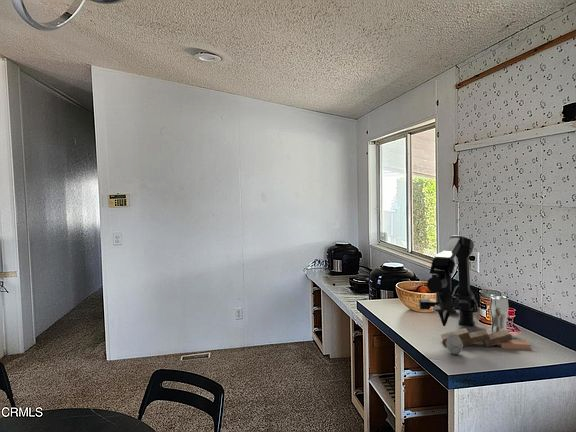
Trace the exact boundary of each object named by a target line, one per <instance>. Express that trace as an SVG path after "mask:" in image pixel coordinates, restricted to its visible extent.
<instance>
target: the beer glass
mask: <svg viewBox="0 0 576 432" xmlns="http://www.w3.org/2000/svg"><path fill="white" fill-rule="evenodd" d="M489 312H490V318H491V329H490V332H491V334H492V333H495V332H499V331H502V330H506V331H508V330H507V320H508V316H509V298H508V297H506V296H503V295H490V299H489Z"/></svg>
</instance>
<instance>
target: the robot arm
mask: <svg viewBox="0 0 576 432" xmlns="http://www.w3.org/2000/svg"><path fill="white" fill-rule="evenodd" d="M474 247H475V243H474V240H473V239H471V238H468V237H465V236H464V235H460V234H459V235H455V234H453V235H450V237H449V240H448V242H447V244H446V245H445V247H444V249H443V251H441V252H438V253H437V254H436V255H435V256H434V258H432V262H431V265H430V270H429V274H430V275H431V277H430V278H428V280H427V282H426V287H427V289H428V290H429V291H430V292H432V293H435V301H431V300H430V299H428V298H420V299H419V300H418V307H419V309H420V310H429V309H431V308H433V311H434V312H437V313H438V316H439V318H440V322H441V324H442V326H443V327H446V325H447V323H448V320H449V318H450V315H451V313H456V312H455V311H459V320H458V325H462V326H470V327H475V320H474V314H475V313H478V312H479V305H478V302H477V300H476V298H475V294H474V292H473V291H472V288H471V277H470V276H471V275H470V256H471V255H472V253H473V252H474V251H473V250H474ZM455 257H456V259H457V273H458V274H457V275H458V276H457V277H458V285H459V286H458V290H457V292H456V293H455V294H454V296H455V298H453V297H452V295H453V291H452V274H453V273H454V272H455V271H454V270H455V267H456V262H455ZM454 307H455V310H454ZM443 311H444V312H443Z"/></svg>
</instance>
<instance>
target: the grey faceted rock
mask: <svg viewBox="0 0 576 432" xmlns="http://www.w3.org/2000/svg"><path fill="white" fill-rule="evenodd" d="M445 346H446V348H447V350H448V352H449V353H450V354H452V355H458V354H460V353H462V351H463V347H464V346H463V343H462V341H461V339H460V338H459V335H455V334H452V335H449V337H448V338H447V342H446V345H445Z"/></svg>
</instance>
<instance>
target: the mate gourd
mask: <svg viewBox="0 0 576 432" xmlns="http://www.w3.org/2000/svg"><path fill="white" fill-rule="evenodd" d="M457 288H459V284H458V285H456V286H455V287H454V289H453V291H452V297H453V298H455V294H456V293H455V292H456V290H457ZM454 310H455V307H454ZM443 313H444V311H443ZM453 313H457V310H455V312H452V313H451V314H452V315H453ZM451 314H450V315H451Z"/></svg>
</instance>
